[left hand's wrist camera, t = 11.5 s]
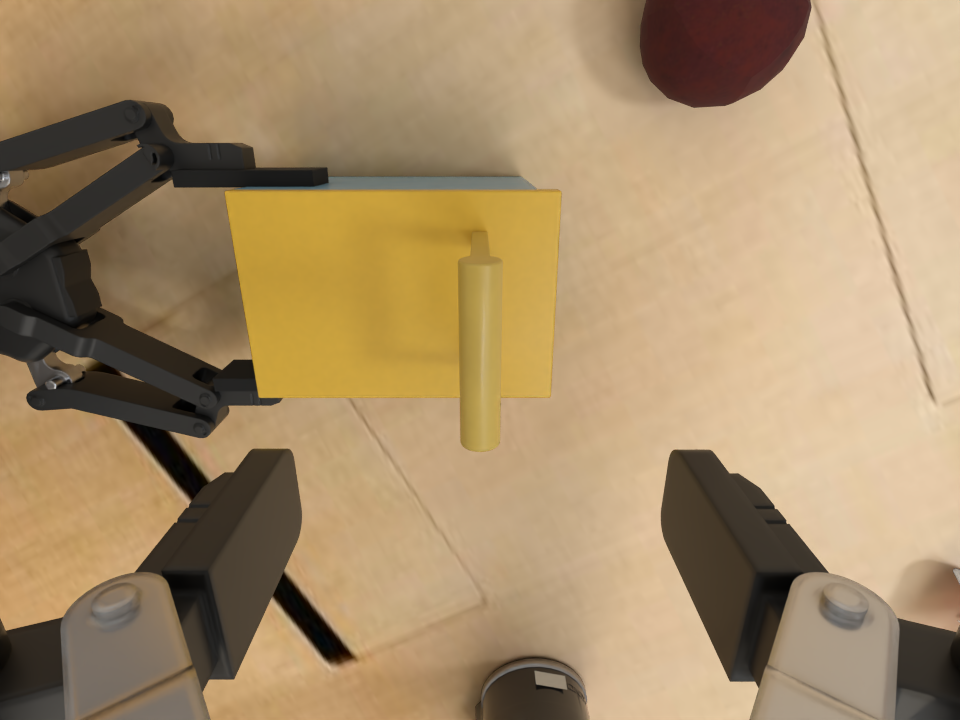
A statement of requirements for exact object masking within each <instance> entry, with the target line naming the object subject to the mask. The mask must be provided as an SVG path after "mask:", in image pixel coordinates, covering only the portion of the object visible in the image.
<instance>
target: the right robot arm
mask: <svg viewBox="0 0 960 720" xmlns="http://www.w3.org/2000/svg"><path fill="white" fill-rule="evenodd" d="M173 121H174V118H173V114H172V112H171V111H170V109H169V108H168V107H167V106H165V105H163V104H160V103H152V102H143V101H135V100H125V101H122V102H119V103H116V104H113V105H110V106H107V107H104V108H101V109H98V110H95V111H92V112H89V113H86V114H83V115H80V116H77V117H74V118H71V119H68V120H65V121H62V122H59V123H55V124H52V125H49V126H46V127H43V128H40V129H37V130H34V131H31V132H28V133H25V134H22V135H19V136H16V137H13V138H10V139H7V140H4V141H1V142H0V354H3V355H6V356H9V357H12V358H14V359H16V360H18V361H22V362H26V363H27V365H28V367H29V370H30V372H31V375H32V377H33V379H34V382H35V384H36V386H37V388H36V389H34V390H32V391H30V392H29V393H28V394H27V397H26V398H27V402H28V403H29V405H30V406H31V407H32V408H34V409H36V410H56V409H70V408H72V409H77V410H81V411H85V412H90V413H94V414H98V415H103V416H107V417H111V418H116V419H120V420H124V421H128V422H133V423H137V424H141V425H146V426H150V427H154V428H159V429H163V430H167V431H172V432H176V433H180V434H185V435H189V436H193V437H198V438H205V437H207V436H209V435H210V434H211V432H212V431H213V430H214V429H215V428H216V427H217V426H218V425H219V424H220V423H221V422H222V421H223V420H224V418H225V417H226V416H227V415H228V413H229V407H228V406H229V405H270V406H271V405H274V404H276V403H279V402H280V401H281V400H282V399H283V398H259V396H258V390H257V384H256V378H255V372H254V366H253V360H233V361H232V362H231V363H230V364H228V365H227V366H226V367H225V368H224V369H223V370H221V369H219V368H216V367H214V366H212V365H210V364H208V363H206V362H204V361H202V360H199V359H197V358H195V357H193V356H191V355H189V354H187V353H185V352H182V351H180V350H178V349H176V348H174V347H172V346H170V345H167V344H165V343H163V342H161V341H159V340H157V339H155V338H153V337H150V336H148V335H146V334H144V333H142V332H140V331H138V330H136V329H133V328H131V327H129V326H127V325H125V324H124V323H123V319H122V318H121V317H119V316H117V315H115V314H113V313H111V312H108V311H106V310H104V309H102V308H100V307H101V306H102V304H101V301H100V297H99V293H98V291H97V289H96V287H95V286H94V284H93V282H92V280H91V263H90V260H89V256H88V252H87V250H81V248H80V246H79V244H80V243H82V242H83V241H85V240H86V239H88V238H89V237H91V236H92V235H93V234H95V233H96V232H98V231H99V230H100V229H99V228H100V227H101V226H103V225H104V224H106V223H107V222H109V221H110V220H112V219H113V218H115V217H116V216H118V215H119V214H121V213H122V212H124V211H125V210H127V209H128V208H130V207H131V206H133V205H134V204H136V203H137V202H139V201H140V200H142V199H143V198H145V197H146V196H148V195H149V194H151V193H152V192H154V191H155V190H157V189H158V188H160V187H161V186H163V185H164V184H166V183H167V182H169V181H170V180H172V179H173V184H174V187H315V186H318V185H322V184H326V183H329V180H328V170H327V168H256V166H255V159H254V152H253V147H250V146H248V145H245V144H243V143H190V142H187V141H185V140H184V139H182V138H181V137H180V136H179V134H178V133H177V131H176V129H175V127H174V125H173ZM137 139H138V140H139V142H140V144H139V145H137V146H138V148H141V149H140V150H139V151H137V152H136V153H134V154H133V155H131V156H130V157H128V158H127V159H126V160H124V161H123V162H121V163H120V164H118V165H117V166H115V167H114V168H113V169H111V170H110V171H108V172H107V173H105V174H104V175H103V176H101V177H100V178H98V179H97V180H95V181H94V182H92V183H91V184H90V185H88V186H87V187H85V188H84V189H82V190H81V191H79V192H78V193H77V194H75V195H74V196H72V197H71V198H69V199H68V200H66V201H65V202H64V203H62V204H61V205H59V206H58V207H56V208H55V209H53V210H52V211H51V212H49V213H47V214H44V215H42V216H39V217H38V216H36V215H34V214H33V213H31V212H29V211H28V210H26V209H25V208H23V207H21V206H20V205H18V204H16V203H15V202H13V201H11V200H8V192H9V190H10V189H12V188H13V187H18V186H20V185H22V184H23V182H24V180H26V179H28V177H29V173H28V171H27V170H37V169H45V168H49V167H53V166H56V165H59V164H62V163H66V162H69V161H72V160H75V159H78V158H81V157H84V156H87V155H90V154H94V153H97V152H100V151H103V150H106V149H109V148H112V147H115V146H118V145H121V144H125V143H128V142H131V141H134V140H137ZM59 350H61V351H63V352H65V353H68V354H70V355H72V356H75V357H90V358H93V359H95V360H97V361H100V362H102V363H104V364H106V365H108V366H111V367H113V368H115V369H117V370H119V371H122V372H124V373H126V374H128V375H130V376H133V377H135V378H137V379H139V380H141V381H144V382H141V381H137V380H133V379H129V378H125V377H121V376H116V375H112V374H108V373H102V372H85V368H84V366H82V365H80V364H77V365H72V364H66V363H64V362H62V361H60V360H59V359H58V358H57V356H56V354H55V353H56V352H58V351H59Z"/></svg>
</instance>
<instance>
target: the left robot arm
mask: <svg viewBox="0 0 960 720" xmlns="http://www.w3.org/2000/svg"><path fill="white" fill-rule="evenodd" d="M301 523H302V510H301V502H300V496H299V489H298V482H297V475H296V468H295V462H294V456H293V453H292V451H291V450H290V449H252V450H251V451H250V452H249V453H248V454H247V456H246V457H245V458H244V460H243V461H242V462H241V464H240V465H239V466H238V468H237V469H236V470H235V472H234V473H223V474H222V475H220V476H219V477H218V478H216V479H215V480H213V481H212V482H210V483H209V484H207V485H206V486H204V487H203V488H202V489H201V490H200V492H199V493H198V494H197V495H196V497H195V498H194V499H193V500H192V502H191V503H190V504H189V508H186V509H185V510H184V512H183V513H182V514H181V515H180V517H179V518H178V521H177V523H174V524H173V525H172V527H171V528H170V529H169V530H168V532H167V533H166V534H165V535H164V537H163V538H162V539H161V540H160V542H159V543H158V544H157V545H156V546H155V548H154V549H153V550H152V551H151V553H150V554H149V555H148V556H147V558H146V559H145V560H144V561H143V563H142V564H141V565H140V566H139V568H138V569H137V570H136V571H135V573H130V574H125V575H121V576H118V577H115V578H112V579H110V580H108V581H105V582H103V583H101V584H99V585H97V586H96V587H94V588H92V589H91V590H89V591H88V592H86V593H85V594H84V595H82V596H81V597H80V598H79V599H77V600H76V601H75V602H74V603H73V604H72V605H71V607H70V608H69V609H68V610H67V612H66V613H65V615H64V617H62V618H59V619H54V620H50V621H46V622H42V623H37V624H33V625H29V626H24V627H20V628H16V629H12V630H7V631H5V628H4V626H3V624H2V621H1V619H0V720H211V719H210V716H209V713H208V710H207V706H206V703H205V700H204V697H203V693H202V692H203V690H204V688H205V686H206V684H207V682H208V680H209V679H234V678H235V676H236V674H237V672H238V670H239V667H240V665H241V663H242V661H243V659H244V656H245V654H246V652H247V650H248V648H249V646H250V643H251V641H252V639H253V637H254V635H255V632H256V630H257V628H258V626H259V624H260V622H261V619H262V617H263V615H264V613H265V611H266V608H267V606H268V604H269V602H270V600H271V598H272V595H273V593H274V591H275V589H276V587H277V584H278V582H279V580H280V578H281V576H282V573H283V571H284V569H285V567H286V565H287V563H288V560H289V558H290V556H291V554H292V552H293V549H294V547H295V545H296V543H297V541H298V538H299V534H300V530H301ZM661 526H662V533H663V537H664V540H665V542H666V545H667V547H668V549H669V551H670V553H671V555H672V557H673V560H674V562H675V564H676V566H677V568H678V570H679V573H680V575H681V577H682V579H683V581H684V583H685V586H686V588H687V590H688V592H689V594H690V596H691V598H692V601H693V603H694V605H695V607H696V609H697V611H698V614H699V616H700V618H701V620H702V622H703V624H704V627H705V629H706V631H707V633H708V635H709V637H710V639H711V642H712V644H713V646H714V648H715V650H716V652H717V655H718V657H719V659H720V661H721V663H722V665H723V668H724V670H725V672H726V674H727V676H728V678H729V680H730V681H755V682H756V684H757V686H758V688H759V690H758V693H757V697H756V700H755V703H754V706H753V710H752V713H751V716H750V719H749V720H960V626H959V628H958V630H957V632H953V631H949V630H945V629H940V628H936V627H932V626H927V625H923V624H919V623H915V622H910V621H906V620H902V619H899V618H897V617H896V615H895V613H894V612H893V610H892V609H891V608H890V607H889V605H888V604H887V603H886V602H885V601H884V600H883V599H881V598H880V597H879V596H878V595H876V594H875V593H874V592H872V591H871V590H869V589H868V588H866V587H864V586H863V585H861V584H859V583H857V582H855V581H852V580H850V579H848V578H845V577H842V576H839V575H835V574H830V573H829V572H828V571H827V570H826V569H825V568H824V566H823V565H822V564H821V563H820V561H819V560H818V559H817V558H816V556H815V555H814V554H813V553H812V552H811V550H810V549H809V548H808V547H807V545H806V544H805V543H804V542H803V540H802V539H801V538H800V537H799V535H798V534H797V533H796V532H795V531H794V529H793V528H792V527H791V526H790V524H787V523H786V519H785V518H784V517H783V516H782V514H781V513H780V512H779V511H778V510H777V509H775V508H774V505H773V503H772V502H771V501H770V500H769V498H768V497H767V496H766V495H765V493H764V492H763V491H762V490H761V489H760V488H759V487H758V486H756V485H755V484H753V483H752V482H750V481H749V480H747V479H746V478H744V477H743V476H741V475H740V474H729V472H728V471H727V470H726V468H725V467H724V466H723V464H722V463H721V462H720V460H719V459H718V458H717V456H716V455H715V454H714V453H713V451H711V450H673V451H672V452H671V454H670V457H669V461H668V468H667V475H666V481H665V488H664V495H663V501H662V508H661ZM476 720H590V718H589V713H588V708H587V696H586V691H585V687H584V684H583V682H582V680H581V678H580V677H579V676H578V674H577V673H576V672H574V671H573V670H572V669H571V668H569V667H567V666H566V665H564V664H562V663H559V662H556V661H552V660H548V659H538V658H532V659H523V660H518V661H514V662H511V663H508V664H506V665H504V666H502V667H500V668H499V669H497V670H496V671H495V672H493V673H492V674H491V675H490V676H489V677H488V679H487V680H486V682H485V683H484V685H483V688H482V692H481V702H480V703H479V704H478V705H476Z"/></svg>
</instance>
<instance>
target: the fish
mask: <svg viewBox="0 0 960 720" xmlns="http://www.w3.org/2000/svg"><path fill="white" fill-rule="evenodd" d="M953 572H954V574H955V576H956V578H957V580H958V582H959V584H960V569H953ZM957 621H959V620H957ZM959 622H960V621H959Z"/></svg>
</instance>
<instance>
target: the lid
mask: <svg viewBox="0 0 960 720" xmlns="http://www.w3.org/2000/svg"><path fill="white" fill-rule="evenodd" d="M561 194H562V193H561V191H560V190H558V189H347V190H228V191H225V199H226V205H227V211H228V217H229V223H230V229H231V235H232V241H233V247H234V253H235V259H236V265H237V271H238V277H239V283H240V289H241V295H242V301H243V307H244V313H245V318H246V324H247V330H248V336H249V342H250V348H251V354H252V360H253V366H254V372H255V378H256V384H257V390H258V396H259V398H460V441H461V444H462V446H463V447H464V448H466V449H468V450H471V451H475V452H485V451H490V450H493V449H495V448H496V447H497V446H498V445H499V443H500V408H501V398H549V397H550V396H551V381H552V362H553V344H554V325H555V306H556V288H557V269H558V250H559V231H560V213H561Z"/></svg>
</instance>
